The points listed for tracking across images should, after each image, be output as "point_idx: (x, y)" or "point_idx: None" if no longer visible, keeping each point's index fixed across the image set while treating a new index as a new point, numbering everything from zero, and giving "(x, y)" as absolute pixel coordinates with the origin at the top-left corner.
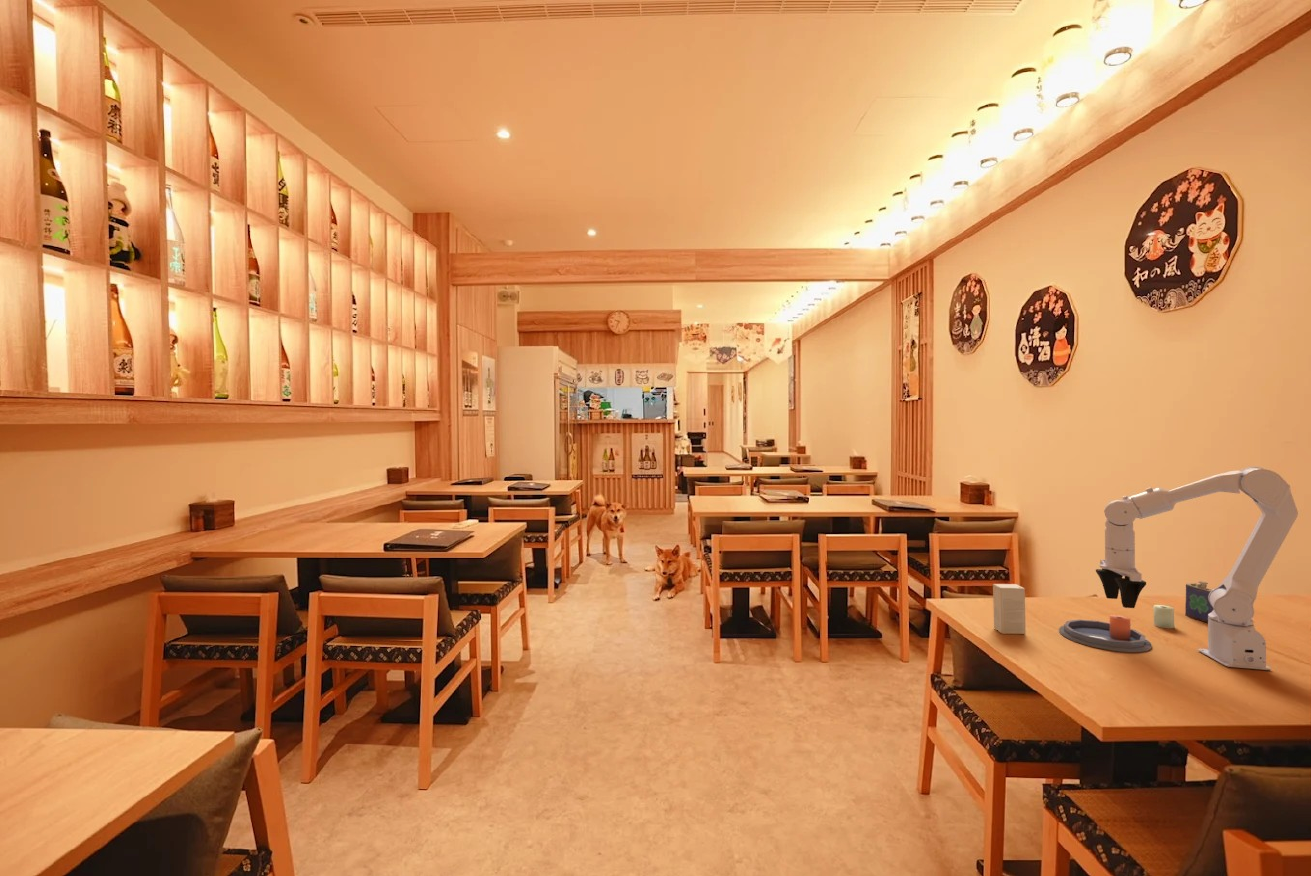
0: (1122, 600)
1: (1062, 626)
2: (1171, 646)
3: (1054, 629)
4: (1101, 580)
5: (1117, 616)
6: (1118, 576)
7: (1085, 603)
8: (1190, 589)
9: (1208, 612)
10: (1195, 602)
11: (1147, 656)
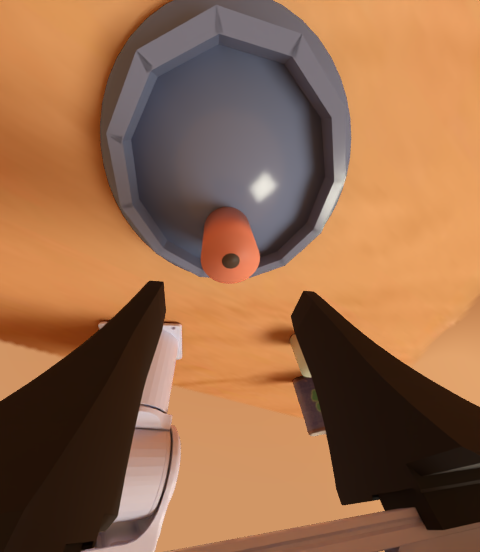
0: (136, 301)
1: (339, 87)
2: (198, 300)
3: (333, 26)
4: (390, 359)
5: (244, 261)
6: (341, 444)
7: (445, 294)
8: None
9: (308, 391)
10: None
11: (98, 217)
